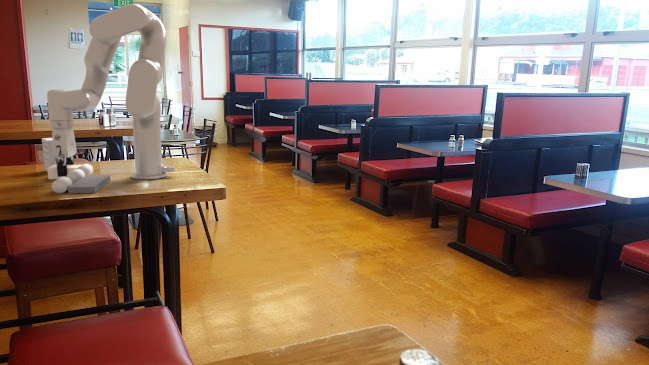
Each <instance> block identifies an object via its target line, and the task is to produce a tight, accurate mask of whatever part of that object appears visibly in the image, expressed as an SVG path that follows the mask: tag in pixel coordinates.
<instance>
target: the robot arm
mask: <svg viewBox="0 0 649 365" xmlns="http://www.w3.org/2000/svg"><path fill="white" fill-rule="evenodd" d="M134 32H138V33H139V34H140V43H139V49H138V58H137V60H136V61H135V62H133V63H132V64H131V65H130V69H129V71H128V77H127V78H128V79H127V85H126V86H127V87H126V93H125V94H126V95H125V108H126V112H128V114H129V115H130V116H132V133H133V134H132V135H133V136H132V137H133V151H134V152H133V153H134V172H132V173H131V174H130V176H131V178H132V179H135V180H157V179H162V178H166V177H167V176H168V173H174V172H175V166H173V165H172V166H171V165H170V166H166V165H165V163H164V162H163V153H162V152H163V150H162V130H161V129H162V128H161V117H162V116H161V115H162V114H161V112H162V108H161V101H160V98H159V97H158V95H157V90H158V85H159V84H160V82H161V81H162V79H163V72H164V71H163V70H164V63H165V52H166V42H167V33H166V29H165V26H164V24H163V22H162V21H161V19H160V18H159V17H158V16H157V15H156V14H154V13H153V12H152V11H150V9H148V8H146V7H144V6H142V5H141V4H137V3H129V4H125V5H124V6H120V7H118V8H116V9H114V10H110V11H108V12H106V13H104V14H101V15H99V16H97V17H95V18H93V19H92V20H91V22H90V24H89V33H90V34H89V35H90V36H91V40H90V42H89V45H88V47H87V49H86V53H85V55H84V59H83V60H84V65H85V71H86V74H85V77H84V80H83V83H82V85H81V88H80V89H74V90H68V89H49V90H48V91H47V93H46V100H47V108H48V109H47V110H48V120H49V129H50V130H52V132H51V136H52V137H51V138H52V144H53V154H54V158H55V160H56V165H57V175H58V177H66V176H67V174H68V173H67V165H75V162H74V161H75V159H74V156H75V155H76V154H77V151H78V150H77V144H76V139H75V138H76V137H75V132H74V130H75V126H74V124H75V123H74V114H73V111H74V112H86V111H89V110H93V109H95V108H96V107H97V106H98V105H99V104H100V102H101V99H102V97H103V94H104V91H105V90H106V86H107V82H108V78H109V74H110V68H111V66H112V62H113V60H114V57H115V55H116V53H117V50H118V48H119V45H120V42H121V40H122V37H124V36H127V35H129V34H132V33H134ZM60 156H64V157H60ZM62 159H63V161H62Z"/></svg>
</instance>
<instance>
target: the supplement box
mask: <svg viewBox="0 0 649 365" xmlns="http://www.w3.org/2000/svg"><path fill="white" fill-rule="evenodd" d="M41 143H42V144H41V146H42V153H43V162H44V171H46V172H47V173H48V170H47V168H49V167H51V166H53V165H56V160H55V158H54V154H53V144H52V137H46V138H45V137H43V138H41ZM60 157H64V156H60ZM62 161H63V159H62Z"/></svg>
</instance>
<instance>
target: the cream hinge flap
mask: <svg viewBox="0 0 649 365" xmlns="http://www.w3.org/2000/svg"><path fill="white" fill-rule="evenodd" d="M75 169H81V170H82V171H83V172H84V173H85V176H89V175H92V174H93V173H94V167H93V165H91V164H89V163H84V164H74V165H67V173H69V172H71V171H73V170H75ZM47 170H48V172H47V178H48V180H57V179H59V178H61V177H58V175H57V165H53V166H51V167H49V168H47Z"/></svg>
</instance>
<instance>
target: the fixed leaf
mask: <svg viewBox="0 0 649 365" xmlns="http://www.w3.org/2000/svg"><path fill="white" fill-rule="evenodd" d="M109 182H111V175H109V174H107V175H103V174H101V175H100V174H99V175H92V174H91V175H89V176H85V173H84V172H83V171H82V170H81V169H75V170H73V171H71V172H69V173H68V174H67V176H66V177H61V178H59V179H54V180H53V182H52V183H51V189H52V191H53V192H54V193H56V194H63V193H65V192H66V191H68V194H96V193H97V192H99V191H100V190H101V189H102V188H103V187H105V186H106V185H107V184H108V183H109Z"/></svg>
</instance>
